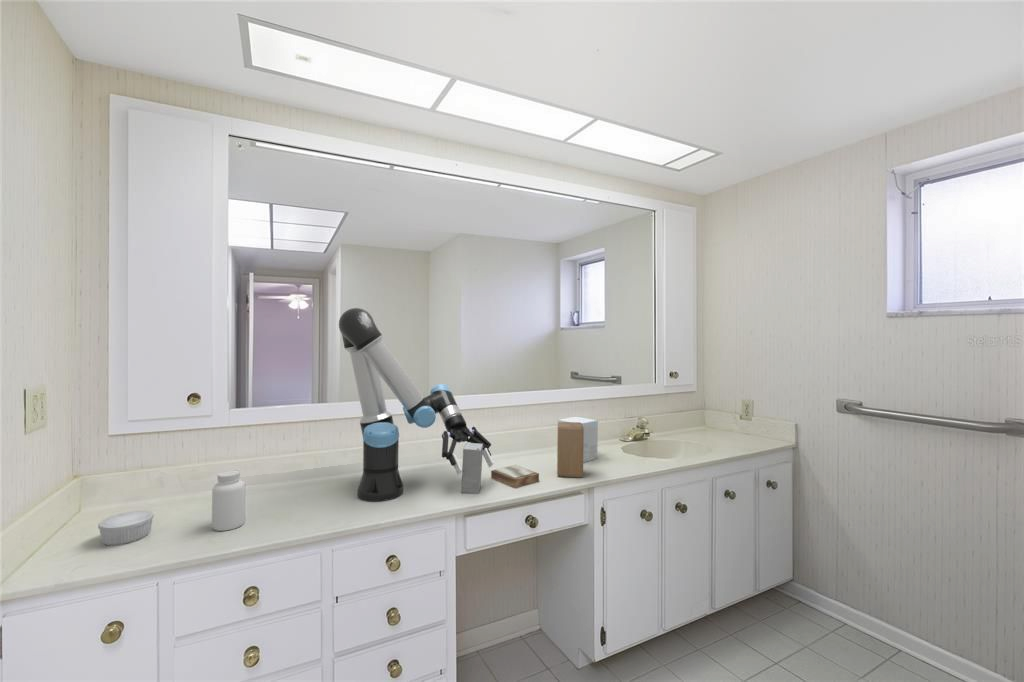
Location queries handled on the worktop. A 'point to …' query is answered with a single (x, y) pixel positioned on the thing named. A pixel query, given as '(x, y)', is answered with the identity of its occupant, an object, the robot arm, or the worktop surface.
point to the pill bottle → (228, 501)
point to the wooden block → (570, 449)
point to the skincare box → (471, 468)
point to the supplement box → (587, 436)
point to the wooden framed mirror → (514, 476)
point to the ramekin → (125, 527)
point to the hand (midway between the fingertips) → (476, 469)
